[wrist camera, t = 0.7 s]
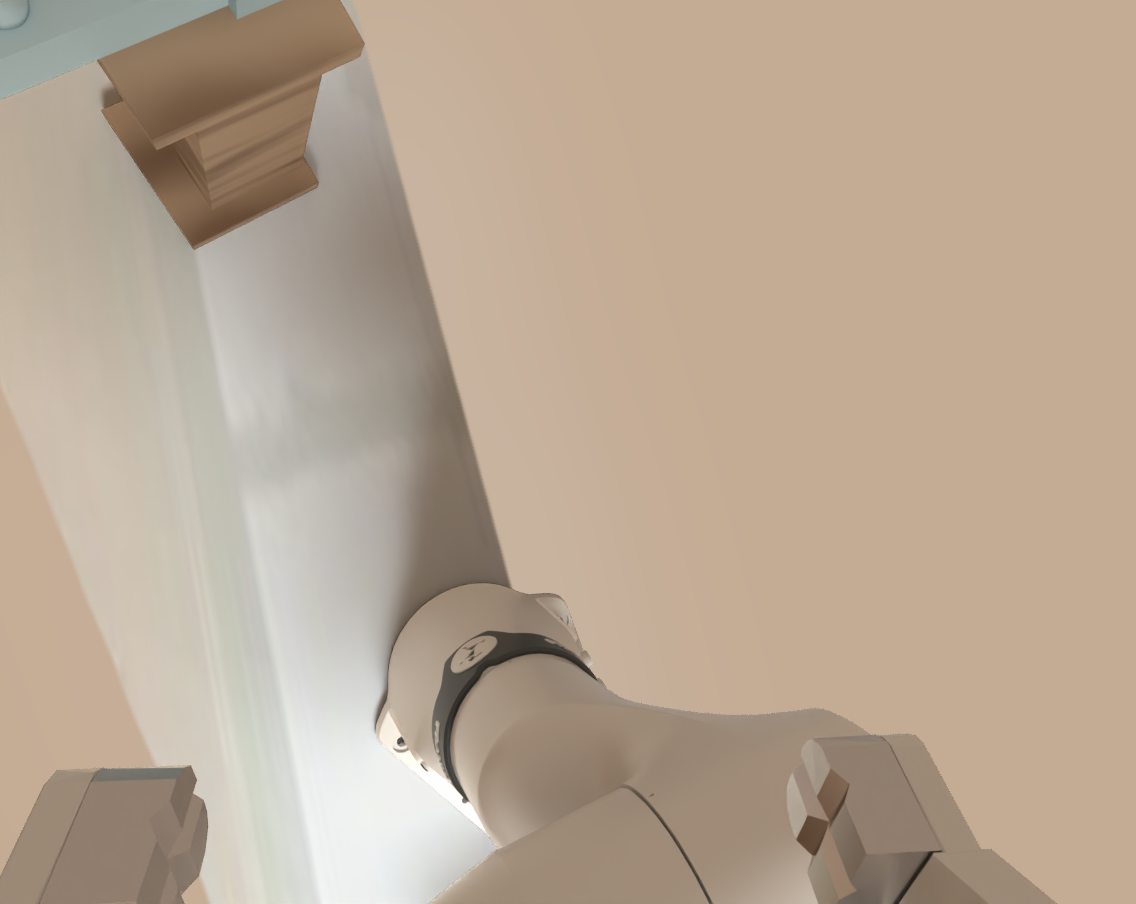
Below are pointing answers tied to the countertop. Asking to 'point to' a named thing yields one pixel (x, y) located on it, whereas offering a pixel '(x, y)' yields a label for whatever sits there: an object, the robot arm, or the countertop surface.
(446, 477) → the countertop surface
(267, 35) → the stand
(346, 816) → the countertop surface
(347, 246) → the countertop surface
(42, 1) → the beam
